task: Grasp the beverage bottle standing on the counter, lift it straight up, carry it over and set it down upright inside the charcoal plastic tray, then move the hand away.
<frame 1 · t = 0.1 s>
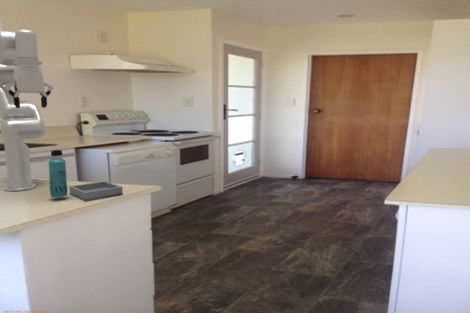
hand: (31, 107, 154), 37 cm above the table, tool pointing down, fingers open, 9 cm apart
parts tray: (96, 194, 165), on the table
beverage bottle: (59, 199, 157), on the table
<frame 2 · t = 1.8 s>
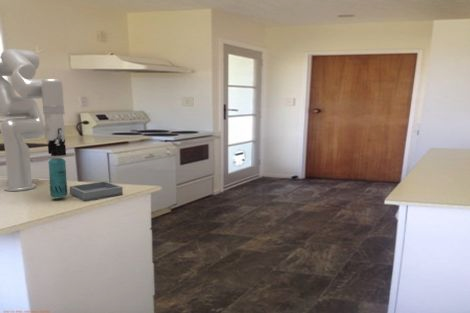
hand: (57, 154, 154), 18 cm above the table, tool pointing down, fingers open, 9 cm apart
nothing on the table moved.
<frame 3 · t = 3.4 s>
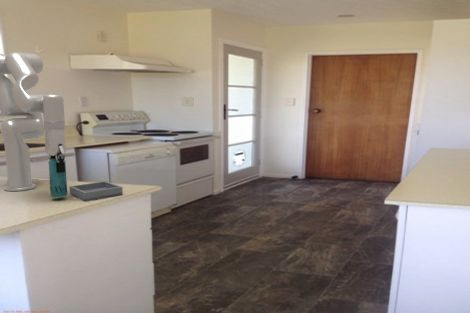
hand: (57, 170, 156), 12 cm above the table, tool pointing down, fingers closed on beverage bottle, 6 cm apart
beverage bottle: (59, 199, 157), on the table, touching gripper
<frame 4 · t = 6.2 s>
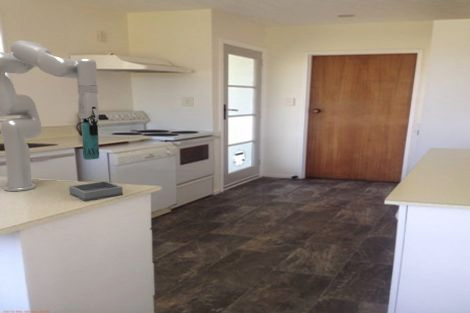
hand: (90, 134, 160), 26 cm above the table, tool pointing down, fingers closed on beverage bottle, 6 cm apart
beverage bottle: (91, 162, 162), point 14 cm above the table, touching gripper
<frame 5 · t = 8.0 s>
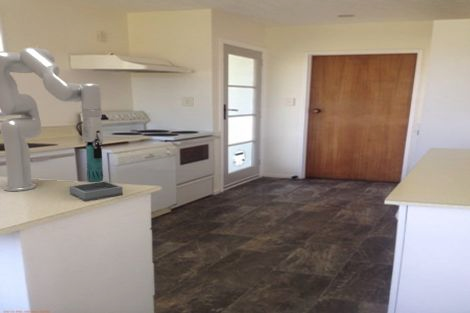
hand: (94, 156, 162), 16 cm above the table, tool pointing down, fingers closed on beverage bottle, 6 cm apart
beverage bottle: (95, 184, 164), point 4 cm above the table, touching gripper
when the fingers open (14 cm above the table, at t = 9.3 s): beverage bottle drops 2 cm, resting on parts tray.
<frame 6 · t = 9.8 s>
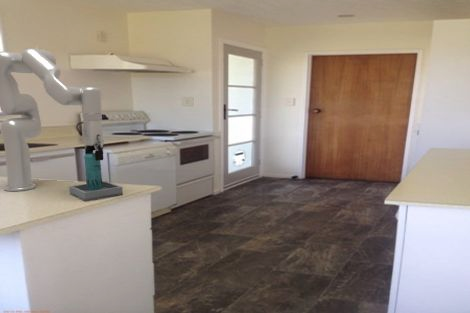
hand: (94, 158, 162), 15 cm above the table, tool pointing down, fingers open, 9 cm apart
beverage bottle: (95, 192, 164), point 1 cm above the table, touching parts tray
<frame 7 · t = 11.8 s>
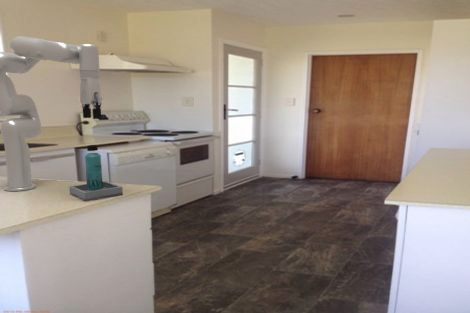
hand: (92, 118, 160), 32 cm above the table, tool pointing down, fingers open, 9 cm apart
nothing on the table moved.
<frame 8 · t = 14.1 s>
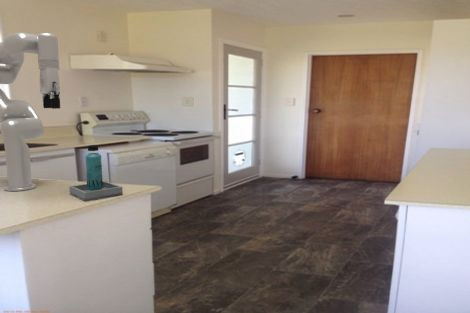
hand: (51, 108, 159), 36 cm above the table, tool pointing down, fingers open, 9 cm apart
nothing on the table moved.
at the end: beverage bottle inside the target area on the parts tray (0.3 cm from its centre), point 0.9 cm above the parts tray's base; beverage bottle tilted 1°; the gripper is holding nothing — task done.
